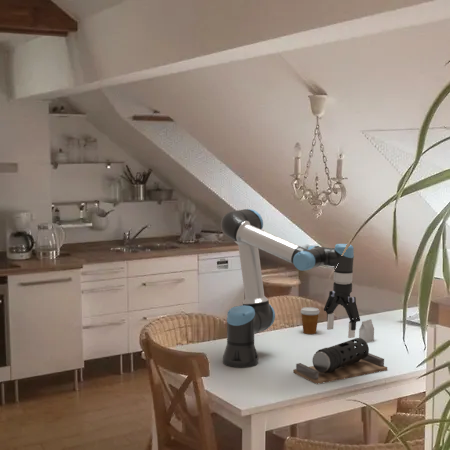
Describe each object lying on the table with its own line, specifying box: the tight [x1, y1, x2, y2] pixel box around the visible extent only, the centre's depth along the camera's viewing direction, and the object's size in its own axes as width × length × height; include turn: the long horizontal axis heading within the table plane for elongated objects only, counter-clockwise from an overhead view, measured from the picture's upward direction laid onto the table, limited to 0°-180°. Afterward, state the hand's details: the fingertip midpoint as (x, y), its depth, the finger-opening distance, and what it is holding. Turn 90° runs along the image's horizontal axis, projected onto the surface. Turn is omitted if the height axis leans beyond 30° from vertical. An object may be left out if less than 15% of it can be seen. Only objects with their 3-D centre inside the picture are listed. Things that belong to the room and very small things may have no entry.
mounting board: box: [292, 352, 388, 385], centre depth 281 cm, size 36×16×4 cm, turn 119°
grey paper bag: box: [358, 319, 375, 344], centre depth 327 cm, size 4×7×10 cm, turn 133°
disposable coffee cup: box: [300, 306, 320, 335], centre depth 341 cm, size 10×10×12 cm
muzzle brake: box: [311, 337, 370, 373], centre depth 281 cm, size 10×28×10 cm, turn 136°
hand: (340, 333), depth 280 cm, fingers open, 13 cm apart
